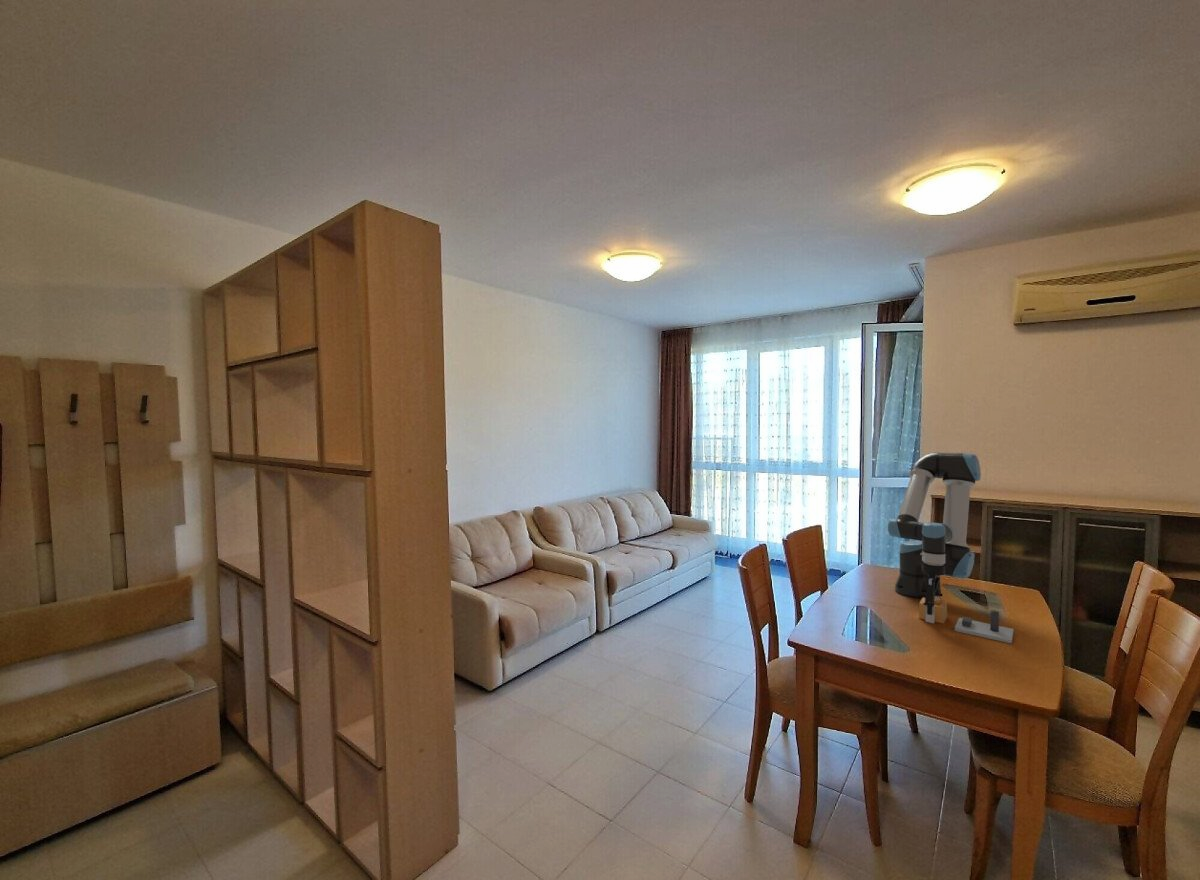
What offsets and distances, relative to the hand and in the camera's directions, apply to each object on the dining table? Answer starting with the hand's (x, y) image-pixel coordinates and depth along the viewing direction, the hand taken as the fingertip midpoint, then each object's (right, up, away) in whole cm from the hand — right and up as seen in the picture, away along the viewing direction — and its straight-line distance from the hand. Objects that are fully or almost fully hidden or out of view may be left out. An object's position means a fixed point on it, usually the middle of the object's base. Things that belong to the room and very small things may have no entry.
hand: (932, 617), depth 191 cm
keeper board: (+10, 0, -13) cm, 16 cm away
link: (0, 0, 0) cm, 0 cm away
